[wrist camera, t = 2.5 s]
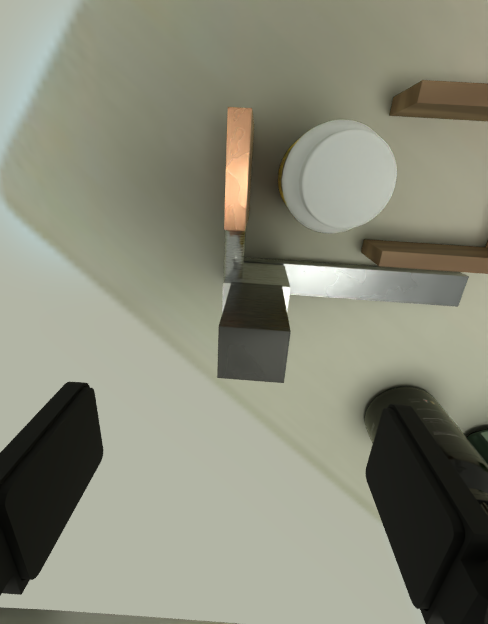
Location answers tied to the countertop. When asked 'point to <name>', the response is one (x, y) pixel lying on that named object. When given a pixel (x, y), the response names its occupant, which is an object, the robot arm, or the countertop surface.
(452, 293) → the rail
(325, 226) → the supplement bottle
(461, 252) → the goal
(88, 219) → the countertop surface
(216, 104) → the countertop surface
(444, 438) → the supplement bottle
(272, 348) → the carriage
